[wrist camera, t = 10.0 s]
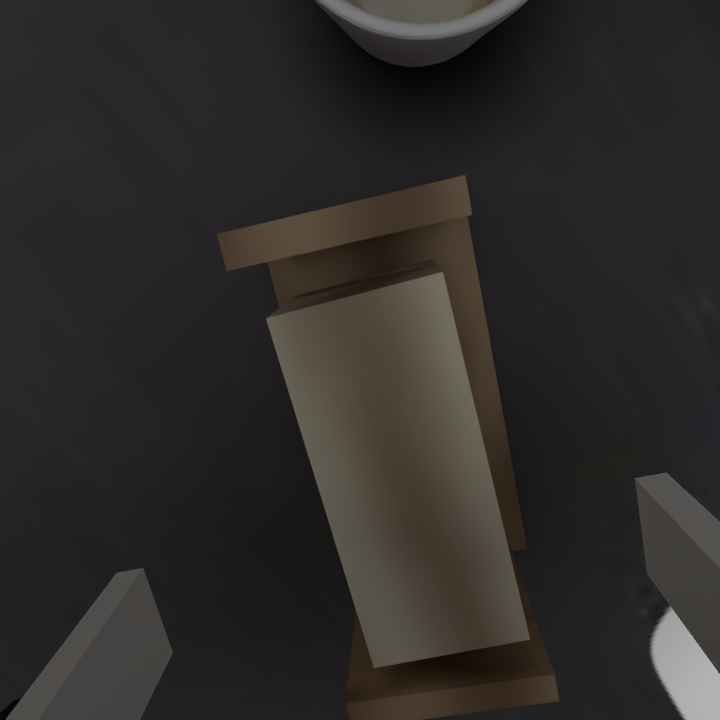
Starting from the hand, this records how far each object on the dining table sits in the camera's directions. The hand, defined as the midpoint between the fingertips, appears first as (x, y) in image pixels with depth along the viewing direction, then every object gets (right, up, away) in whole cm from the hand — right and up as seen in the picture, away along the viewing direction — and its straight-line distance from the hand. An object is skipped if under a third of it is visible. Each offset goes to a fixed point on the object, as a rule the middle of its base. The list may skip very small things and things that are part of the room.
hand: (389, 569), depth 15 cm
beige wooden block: (+1, +2, +11) cm, 11 cm away
